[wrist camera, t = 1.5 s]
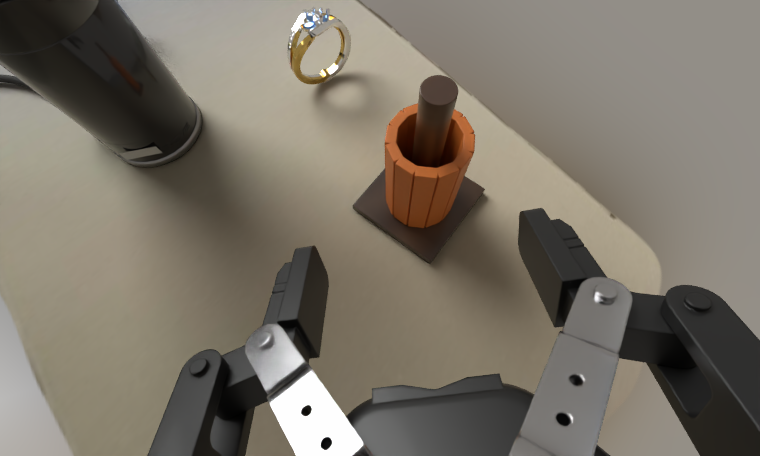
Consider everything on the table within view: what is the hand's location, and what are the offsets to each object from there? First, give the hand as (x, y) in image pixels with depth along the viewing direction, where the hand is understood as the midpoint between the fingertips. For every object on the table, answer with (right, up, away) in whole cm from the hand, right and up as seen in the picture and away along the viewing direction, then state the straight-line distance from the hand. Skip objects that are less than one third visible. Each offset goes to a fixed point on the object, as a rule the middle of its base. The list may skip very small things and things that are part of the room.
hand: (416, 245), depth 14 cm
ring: (-7, +17, +26) cm, 32 cm away
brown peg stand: (+2, +3, +20) cm, 21 cm away
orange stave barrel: (+2, +4, +20) cm, 20 cm away
